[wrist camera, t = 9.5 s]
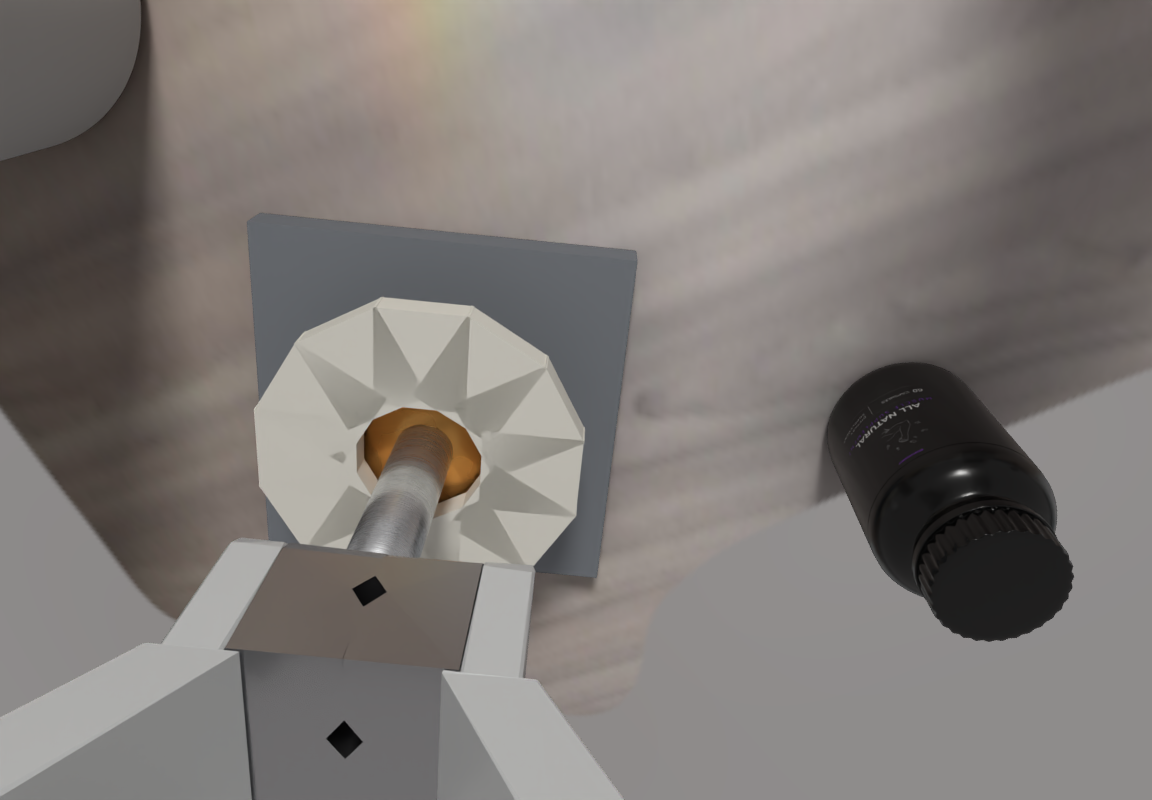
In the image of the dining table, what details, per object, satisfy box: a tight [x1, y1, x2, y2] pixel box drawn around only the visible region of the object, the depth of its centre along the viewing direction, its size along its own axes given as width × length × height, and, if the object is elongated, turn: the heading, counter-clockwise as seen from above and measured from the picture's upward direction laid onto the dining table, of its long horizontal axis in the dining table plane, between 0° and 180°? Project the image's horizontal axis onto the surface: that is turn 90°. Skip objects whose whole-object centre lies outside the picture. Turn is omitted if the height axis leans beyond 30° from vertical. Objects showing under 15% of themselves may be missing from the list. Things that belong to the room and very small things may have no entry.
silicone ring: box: [254, 297, 585, 566], centre depth 35 cm, size 13×13×1 cm
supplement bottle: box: [827, 362, 1074, 642], centre depth 35 cm, size 7×7×12 cm
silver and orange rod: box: [347, 407, 481, 558], centre depth 33 cm, size 6×6×14 cm
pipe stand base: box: [247, 213, 637, 578], centre depth 40 cm, size 16×16×2 cm
